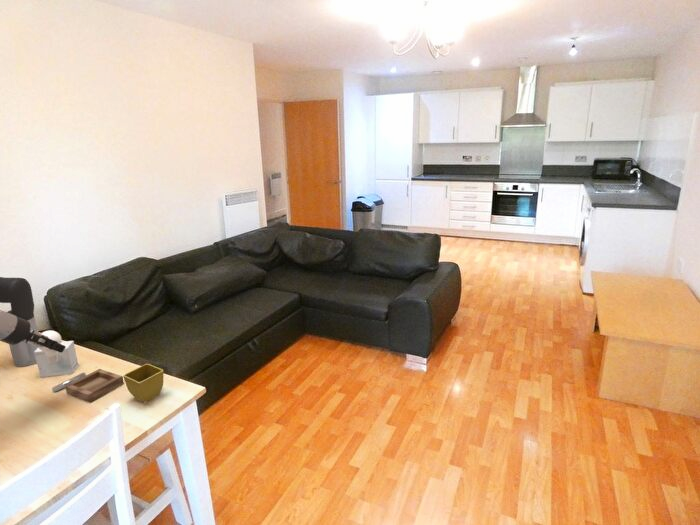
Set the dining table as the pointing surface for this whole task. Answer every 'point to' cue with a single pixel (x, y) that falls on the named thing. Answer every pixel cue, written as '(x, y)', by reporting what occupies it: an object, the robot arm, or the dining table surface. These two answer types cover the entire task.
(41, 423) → the dining table surface
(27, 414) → the dining table surface
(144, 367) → the flower pot
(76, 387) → the brown wooden tray
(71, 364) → the skincare box
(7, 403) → the dining table surface
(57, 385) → the pin
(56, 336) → the lightbulb
